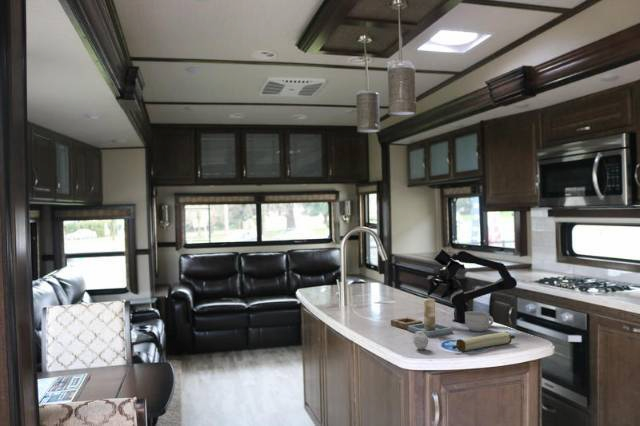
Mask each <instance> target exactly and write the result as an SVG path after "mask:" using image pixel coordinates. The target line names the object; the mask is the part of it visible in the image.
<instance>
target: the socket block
mask: <svg viewBox="0 0 640 426" xmlns="http://www.w3.org/2000/svg"><path fill="white" fill-rule="evenodd" d="M422 323H424V320H419V319H417V318H416V319H415V318H412V317H408V316H407V317H401V318H395V319H390V326H394V327H397V328H399V329H403V330H408V326H411V325H417V324H422Z"/></svg>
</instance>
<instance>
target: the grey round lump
mask: <svg viewBox="0 0 640 426" xmlns="http://www.w3.org/2000/svg"><path fill="white" fill-rule="evenodd" d="M412 342H413V344H414V346H415V348H416V349H418V350H420V351H422V350H426V349H427V347H428V344H429V338H428V337H427V336H426V334H425V333H424V332H423V331H418V332H416V333H414V335H413V339H412Z"/></svg>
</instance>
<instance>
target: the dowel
mask: <svg viewBox="0 0 640 426" xmlns="http://www.w3.org/2000/svg"><path fill="white" fill-rule="evenodd" d="M423 323H424V330H426V331H434V330H436V328H435V323H436V300H435V298H424V299H423Z"/></svg>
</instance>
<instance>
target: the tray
mask: <svg viewBox="0 0 640 426" xmlns="http://www.w3.org/2000/svg"><path fill="white" fill-rule="evenodd" d="M435 328H436V330H434V331H426V330H424V322H423V323H422V324H417V325H411V326H408V329H407V332H411V333H413V334H415V333H416V332H418V331H423V332H424V333H425V334H426V336H427V338H433V337H438V336H443V335H447V334H448V335H449V334H452V333H453V327H450V326H448V325H447V326H446V325H443V324H439V323H436V322H435Z"/></svg>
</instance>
